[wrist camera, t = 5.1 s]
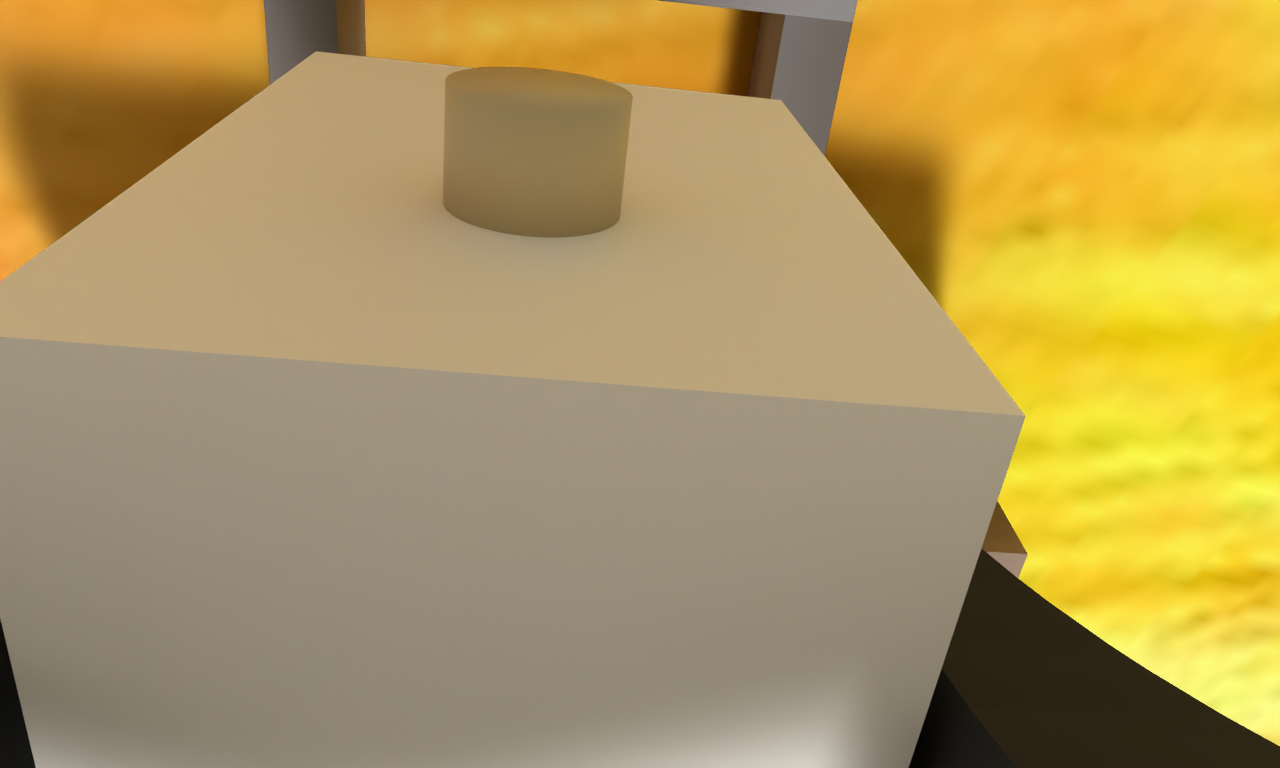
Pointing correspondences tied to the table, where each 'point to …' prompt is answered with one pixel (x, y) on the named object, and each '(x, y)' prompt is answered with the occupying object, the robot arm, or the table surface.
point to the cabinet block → (486, 442)
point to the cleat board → (782, 69)
